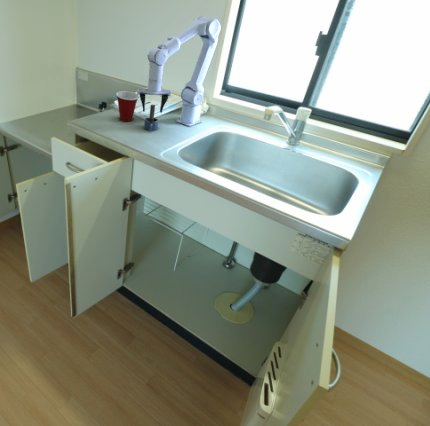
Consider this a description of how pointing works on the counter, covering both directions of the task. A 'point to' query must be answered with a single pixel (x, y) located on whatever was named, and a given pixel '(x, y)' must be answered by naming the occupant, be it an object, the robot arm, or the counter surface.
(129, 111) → the plastic cup
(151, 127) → the coffee cup
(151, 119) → the stirrer
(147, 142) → the counter surface
